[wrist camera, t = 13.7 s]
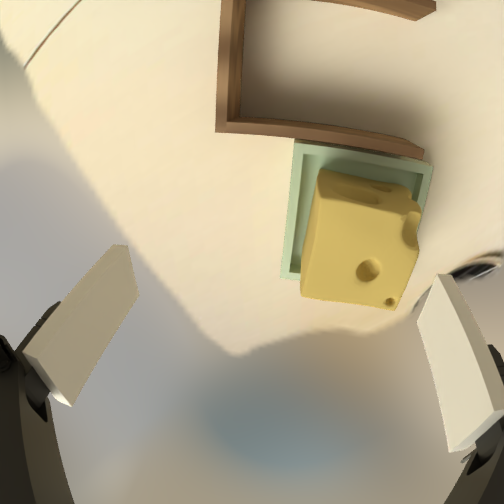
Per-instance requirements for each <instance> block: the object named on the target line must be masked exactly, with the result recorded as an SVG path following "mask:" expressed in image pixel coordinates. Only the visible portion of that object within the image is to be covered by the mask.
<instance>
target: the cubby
mask: <svg viewBox="0 0 504 504" xmlns="http://www.w3.org/2000/svg"><path fill="white" fill-rule="evenodd" d="M313 1H322V2H329V3H336V4H343V5H349V6H354V7H359V8H364V9H369V10H374V11H378V12H383V13H387V14H391V15H394V16H398V17H402V18H405V19H409V20H412V21H417V20H419V19H421V18H422V17H424V16H426V15H428V14H430V13H432V12H434V11H436V1H433V0H313ZM245 8H246V0H222V1H221V15H220V31H219V49H218V69H217V93H216V124H215V132H218V133H238V134H254V135H266V136H278V137H288V138H297V139H306V140H314V141H322V142H329V143H336V144H343V145H349V146H355V147H361V148H367V149H372V150H378V151H383V152H388V153H393V154H398V155H403V156H407V157H412V158H416V159H420V160H422V159H423V154H424V149H422V148H420V147H419V146H417V145H415V144H413V143H411V142H410V141H408V140H406V139H403V138H398V137H394V136H389V135H384V134H379V133H374V132H369V131H363V130H357V129H351V128H345V127H339V126H332V125H325V124H317V123H309V122H301V121H292V120H281V119H270V118H256V117H240V97H241V77H242V58H243V40H244V24H245Z"/></svg>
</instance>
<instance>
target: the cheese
mask: <svg viewBox="0 0 504 504" xmlns="http://www.w3.org/2000/svg"><path fill="white" fill-rule="evenodd" d="M411 198H412V194H411V191H410V190H409V189H408V188H407V187H405V186H402V185H399V184H395V183H388V182H381V181H376V180H371V179H367V178H363V177H358V176H354V175H349V174H344V173H340V172H335V171H331V170H326V169H319V172H318V176H317V179H316V185H315V189H314V194H313V198H312V203H311V208H310V214H309V219H308V224H307V229H306V234H305V238H304V243H303V247H302V258H301V275H300V291H301V296H302V297H306V298H311V299H317V300H323V301H332V302H342V303H350V304H358V305H365V306H371V307H376V308H381V309H386V310H392V311H395V309H396V308H397V305H398V303H399V301H400V299H401V297H402V294H403V292H404V290H405V288H406V286H407V283H408V281H409V278H410V276H411V273H412V271H413V268H414V266H415V264H416V261H417V258H418V255H419V246H418V242H417V227H418V224H419V221H420V219H421V215H422V210H421V207H420V206H419V204H418V203H417V202H415V201H413V200H411Z"/></svg>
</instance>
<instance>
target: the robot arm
mask: <svg viewBox="0 0 504 504" xmlns="http://www.w3.org/2000/svg"><path fill="white" fill-rule="evenodd" d="M138 297H139V292H138V288H137V284H136V280H135V276H134V272H133V267H132V263H131V259H130V254H129V249H128V246H125V245H112V246H111V247H110V249H109V250H108V251H107V252H106V253H105V254H104V255H103V256H102V257H101V258H100V259H99V260H98V261H97V262H96V264H95V265H94V266H93V267H92V268H91V269H90V270H89V271H88V272H87V273H86V275H85V276H84V277H83V278H82V279H81V280H80V281H79V282H78V283H77V285H76V286H75V287H74V288H73V289H72V290H71V292H70V293H69V294H68V295H67V296H66V297H65V299H64V300H63V301H62V302H60V301H59V302H57V303H56V304H54V305H53V306H51V307H50V308H49V309H48V310H47V311H46V312H45V313H44V314H43V316H42V317H41V319H39V321H38V322H37V323H36V326H34V327H33V328H32V329H31V331H30V332H29V333H28V334H27V336H26V337H25V338H24V340H23V341H22V342H21V343H20V345H19V346H18V347H17V349H16V350H15V351H14V350H13V349H12V347H11V346H10V344H9V343H8V341H7V339H6V338H5V337H4V336H2V335H0V504H74V501H73V498H72V495H71V492H70V488H69V486H68V482H67V478H66V475H65V472H64V468H63V465H62V460H61V456H60V452H59V448H58V443H57V439H56V434H55V429H54V423H53V418H52V412H51V406H50V401H49V399H48V397H47V396H48V394H49V392H51V393H52V394H53V396H54V397H55V398H56V400H58V401H60V402H62V403H64V404H67V405H69V406H71V407H72V406H73V404H74V402H75V401H76V399H77V397H78V395H79V393H80V392H81V390H82V388H83V386H84V384H85V383H86V381H87V379H88V378H89V376H90V374H91V372H92V371H93V369H94V367H95V366H96V364H97V362H98V360H99V359H100V357H101V355H102V354H103V352H104V350H105V349H106V347H107V345H108V344H109V342H110V341H111V339H112V337H113V336H114V334H115V333H116V331H117V329H118V328H119V326H120V325H121V323H122V321H123V320H124V318H125V317H126V315H127V314H128V312H129V310H130V309H131V307H132V306H133V304H134V303H135V301H136V300H137V298H138ZM417 325H418V328H419V331H420V334H421V338H422V341H423V344H424V347H425V351H426V354H427V357H428V361H429V365H430V368H431V372H432V375H433V379H434V383H435V387H436V391H437V395H438V400H439V404H440V408H441V413H442V417H443V422H444V427H445V433H446V437H447V444H448V450H449V452H455V451H460V450H465V449H467V448H468V447H469V446H470V445H472V444H473V443H474V442H475V443H476V447H477V448H476V449H475V450H473V451H472V452H471V453H470V454H468V455H467V456H466V457H464V458H463V460H462V461H461V463H464V462H465V461H466V460H468V459H469V460H468V462H467V464H466V466H465V468H464V470H463V472H462V474H461V476H460V477H459V479H458V481H457V483H456V484H455V486H454V488H453V490H452V491H451V493H450V495H449V496H448V498H447V499H446V501H445V503H444V504H504V362H503V359H502V357H501V355H500V353H499V352H498V351H497V350H496V349H495V348H494V346H493V345H487V344H486V341H485V339H484V337H483V335H482V333H481V331H480V328H479V326H478V324H477V322H476V320H475V318H474V316H473V314H472V312H471V310H470V309H469V306H468V304H467V303H466V301H465V299H464V297H463V295H462V293H461V291H460V290H459V288H458V286H457V284H456V282H455V281H454V279H453V277H452V275H445V274H437V275H436V277H435V280H434V283H433V285H432V288H431V290H430V293H429V295H428V298H427V300H426V302H425V305H424V307H423V310H422V312H421V314H420V316H419V318H418V321H417Z"/></svg>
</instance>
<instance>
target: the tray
mask: <svg viewBox="0 0 504 504" xmlns="http://www.w3.org/2000/svg"><path fill="white" fill-rule="evenodd" d="M319 169H326V170H331V171H335V172H340V173H344V174H349V175H354V176H358V177H363V178H367V179H371V180H376V181H381V182H388V183H395V184H399V185H402V186H405V187H407V188H408V189H409V190H410V191H411V194H412V198H411V200H413V201H415V202H417V203H418V204H419V206H420V207H421V210H422V213H423V209H424V206H425V202H426V198H427V194H428V189H429V185H430V181H431V176H432V172H433V166H431V165H430V164H428V163H427V162H425V161H421V160H417V159H412V158H408V157H403V156H398V155H394V154H389V153H384V152H378V151H373V150H367V149H362V148H356V147H350V146H343V145H337V144H330V143H322V142H315V141H307V140H298V139H295V141H294V150H293V161H292V172H291V182H290V192H289V201H288V211H287V220H286V229H285V238H284V247H283V256H282V264H281V272H280V278H282V279H290V280H298V281H300V275H301V258H302V247H303V243H304V238H305V234H306V229H307V224H308V219H309V214H310V208H311V203H312V198H313V194H314V189H315V185H316V179H317V176H318V172H319ZM421 217H422V215H421ZM420 221H421V219H420ZM420 221H419V224H420ZM419 224H418V227H417V231H418V228H419Z"/></svg>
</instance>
